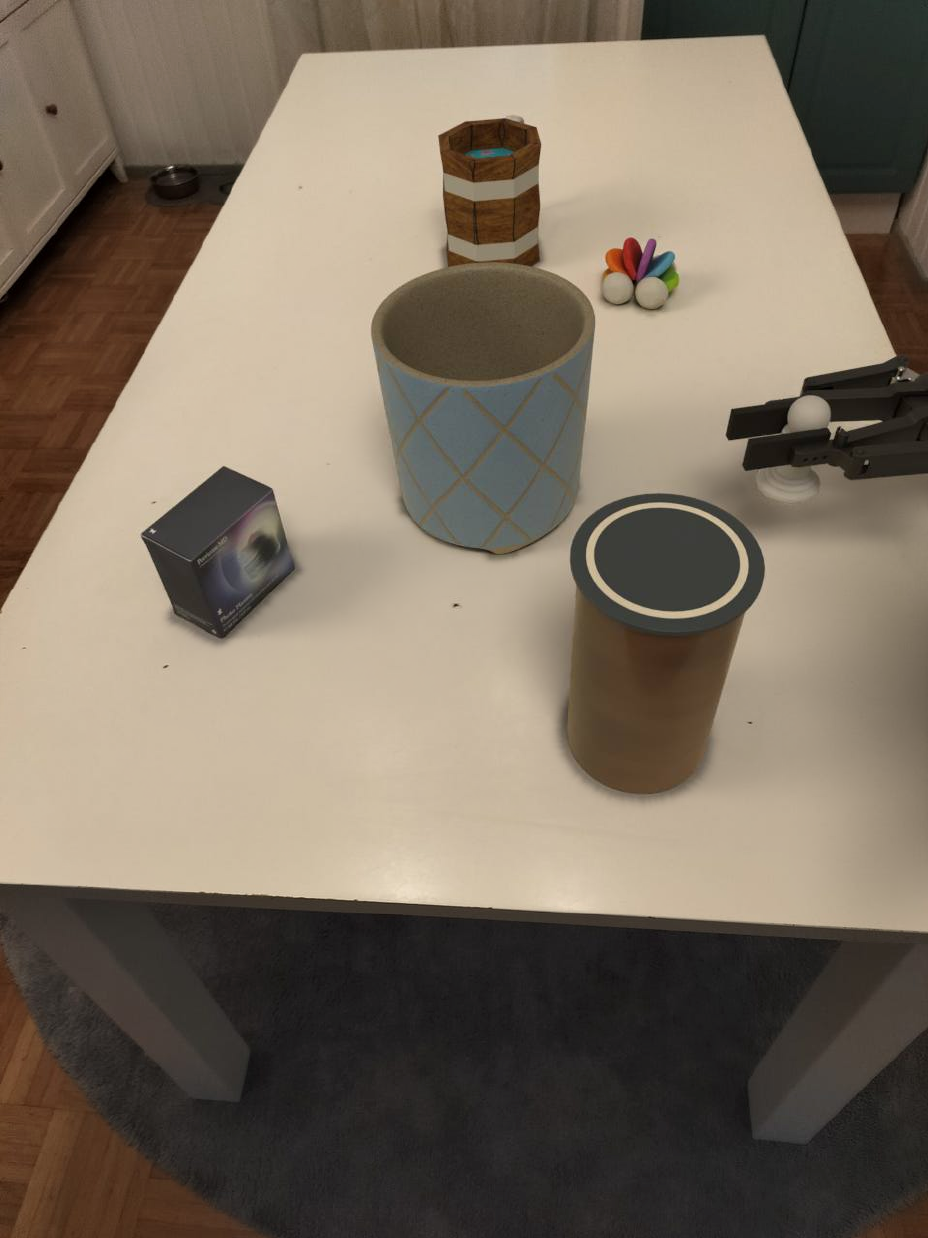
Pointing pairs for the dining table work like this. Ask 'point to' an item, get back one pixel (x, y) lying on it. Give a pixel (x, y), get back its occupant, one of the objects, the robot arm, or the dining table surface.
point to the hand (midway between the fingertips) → (738, 439)
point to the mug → (491, 191)
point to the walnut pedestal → (643, 699)
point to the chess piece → (789, 480)
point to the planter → (486, 399)
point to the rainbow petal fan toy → (639, 274)
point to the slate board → (667, 564)
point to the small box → (220, 550)
